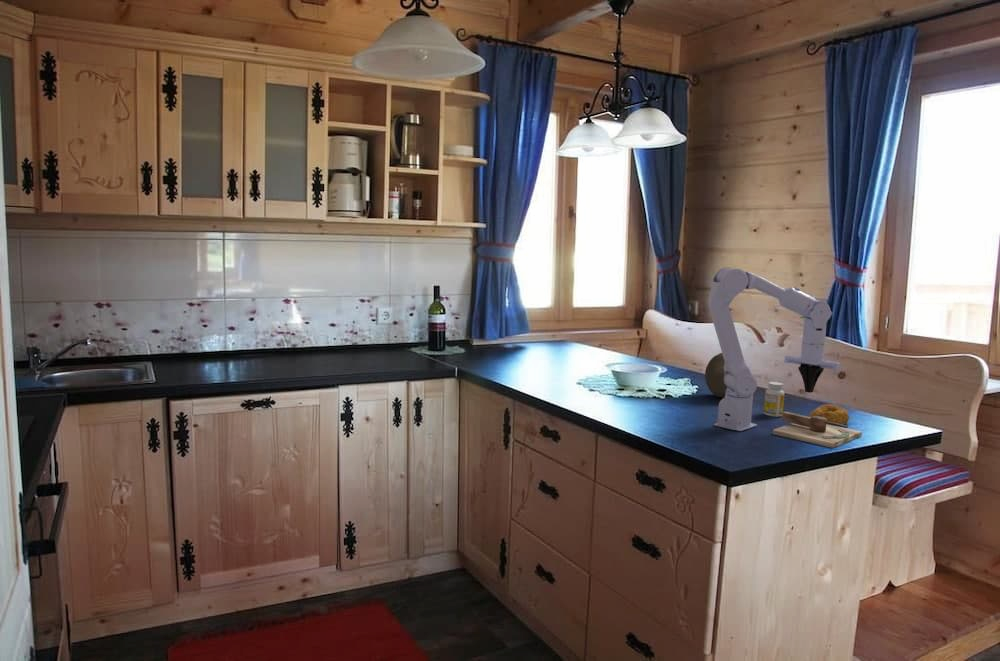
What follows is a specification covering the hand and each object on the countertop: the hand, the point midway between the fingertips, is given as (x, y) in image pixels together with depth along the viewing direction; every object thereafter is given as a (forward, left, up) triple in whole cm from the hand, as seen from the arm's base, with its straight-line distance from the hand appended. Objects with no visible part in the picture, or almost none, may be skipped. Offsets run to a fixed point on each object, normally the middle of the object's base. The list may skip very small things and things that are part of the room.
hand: (809, 391), depth 199 cm
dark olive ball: (+16, +34, -10) cm, 39 cm away
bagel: (+12, -1, -11) cm, 16 cm away
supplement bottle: (+7, +13, -10) cm, 18 cm away
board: (-5, -6, -10) cm, 13 cm away
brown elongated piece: (-5, -4, -9) cm, 11 cm away
